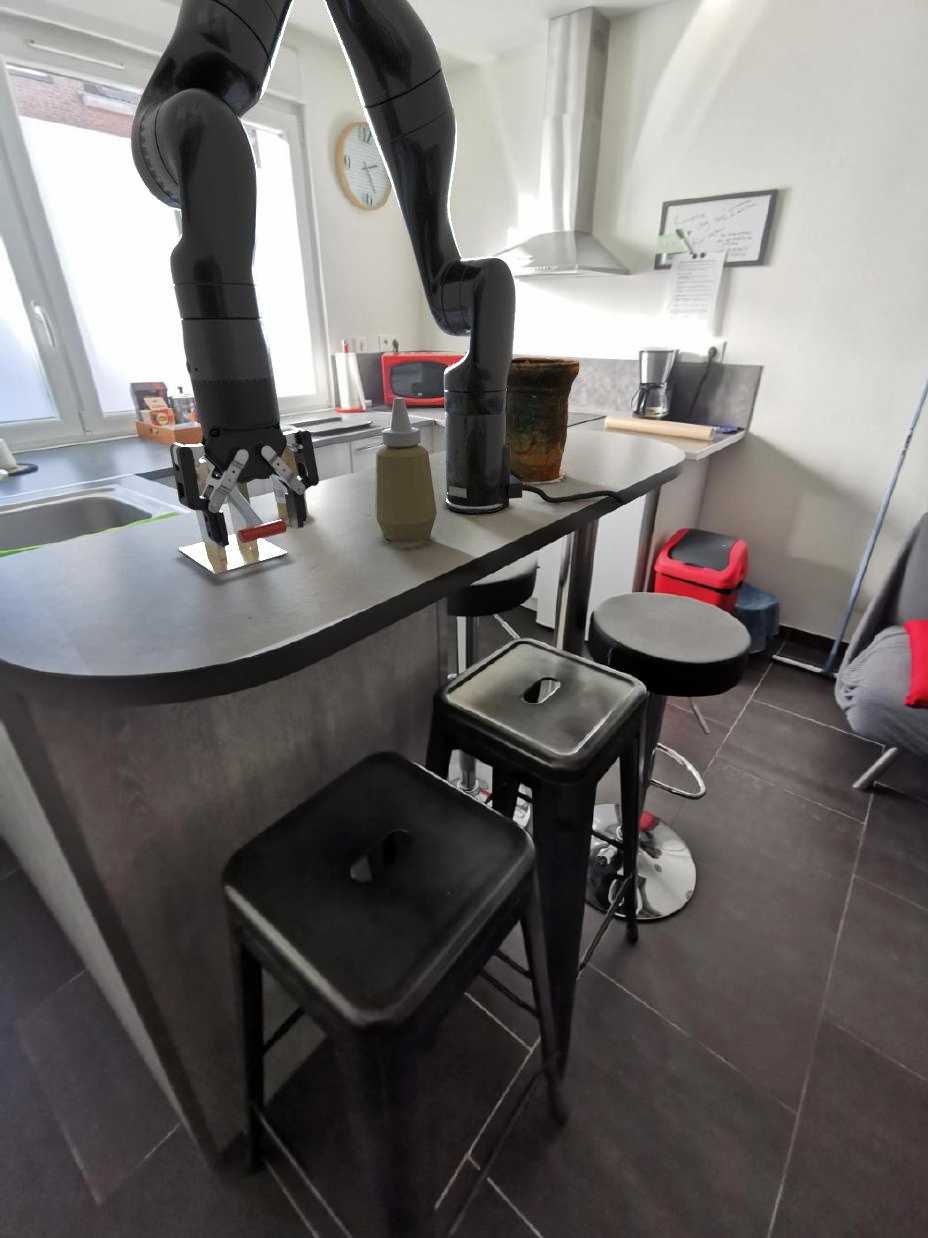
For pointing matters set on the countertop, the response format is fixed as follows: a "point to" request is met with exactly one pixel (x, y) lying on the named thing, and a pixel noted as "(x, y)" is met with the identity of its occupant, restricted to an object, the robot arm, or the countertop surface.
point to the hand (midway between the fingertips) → (261, 535)
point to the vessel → (538, 416)
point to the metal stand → (236, 552)
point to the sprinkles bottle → (277, 486)
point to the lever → (251, 517)
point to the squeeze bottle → (403, 481)
